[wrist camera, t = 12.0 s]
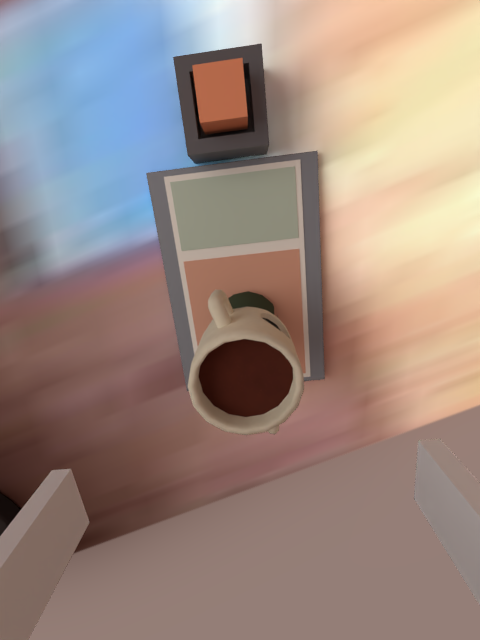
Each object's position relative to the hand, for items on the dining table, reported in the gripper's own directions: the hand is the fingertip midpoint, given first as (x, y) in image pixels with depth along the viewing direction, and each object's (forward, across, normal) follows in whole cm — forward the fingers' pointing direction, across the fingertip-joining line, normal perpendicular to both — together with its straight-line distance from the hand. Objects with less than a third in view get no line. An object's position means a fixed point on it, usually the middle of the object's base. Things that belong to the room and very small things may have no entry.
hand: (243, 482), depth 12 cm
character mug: (+20, 0, 0) cm, 20 cm away
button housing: (+21, 0, +18) cm, 28 cm away
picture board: (+21, 0, +4) cm, 21 cm away
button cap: (+18, 0, +18) cm, 26 cm away
